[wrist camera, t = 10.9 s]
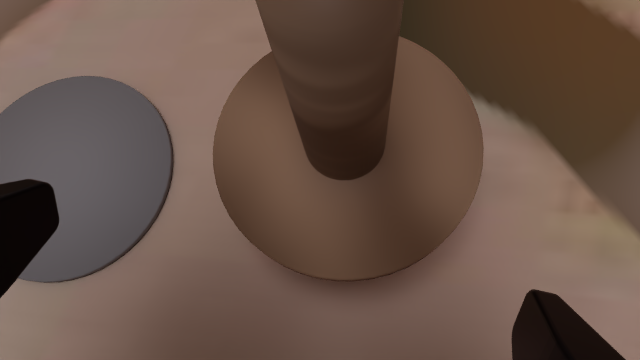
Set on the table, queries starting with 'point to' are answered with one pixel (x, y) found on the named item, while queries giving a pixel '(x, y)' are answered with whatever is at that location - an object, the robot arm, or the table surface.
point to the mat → (88, 169)
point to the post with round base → (346, 142)
